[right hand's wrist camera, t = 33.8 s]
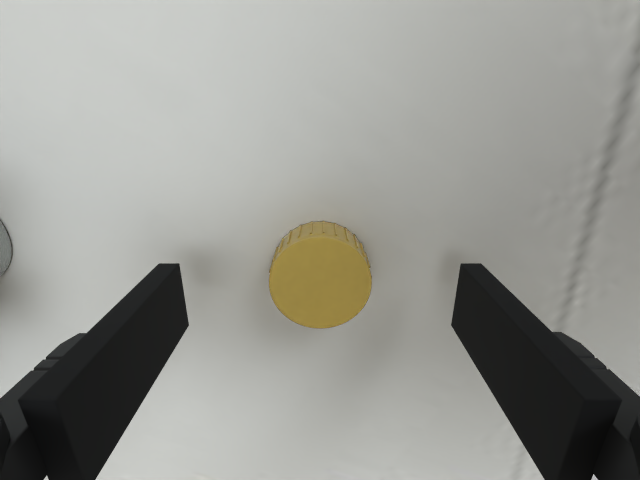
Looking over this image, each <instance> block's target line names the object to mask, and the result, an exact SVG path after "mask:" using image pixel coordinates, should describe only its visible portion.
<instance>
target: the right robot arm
mask: <svg viewBox="0 0 640 480" xmlns="http://www.w3.org/2000/svg"><path fill="white" fill-rule="evenodd" d="M188 326H189V323H188V317H187V310H186V304H185V298H184V291H183V285H182V278H181V272H180V266H179V264H158V265H157V266H156V267H155V268H154V269H153V270H152V271H151V272H150V273H149V274H148V275H147V276H146V277H145V278H144V279H143V280H141V281H140V282H139V283H138V284H137V285H136V286H135V287H134V288H133V289H132V290H131V291H130V292H129V293H128V294H127V295H126V296H125V297H124V298H123V299H122V300H121V301H120V302H119V303H118V304H117V305H116V306H114V307H113V308H112V309H111V310H110V311H109V312H108V313H107V314H106V315H105V316H104V317H103V318H102V319H101V320H100V321H99V322H98V323H97V324H96V325H95V326H94V327H93V328H92V329H91V330H90V331H89V332H87V333H79V334H77V335H75V336H74V337H72V338H70V339H68V340H67V341H65V342H63V343H62V344H60V345H59V346H58V347H57V348H56V349H54V350H53V351H52V352H51V353H50V354H49V355H48V356H47V357H46V360H42V361H41V362H40V363H39V364H38V365H37V366H36V367H35V368H34V371H30V372H29V373H28V374H27V375H26V376H25V377H24V378H22V379H21V380H20V381H19V382H18V383H17V384H16V385H15V386H14V387H13V388H11V389H10V390H9V391H8V392H7V393H6V394H5V395H4V396H3V397H2V398H0V480H44V478H45V477H46V476H48V479H49V480H95V479H96V478H97V476H98V474H99V473H100V471H101V469H102V468H103V466H104V464H105V463H106V461H107V459H108V458H109V456H110V454H111V453H112V451H113V450H114V448H115V446H116V445H117V443H118V441H119V440H120V438H121V436H122V435H123V433H124V431H125V430H126V428H127V426H128V425H129V423H130V421H131V420H132V418H133V416H134V415H135V413H136V412H137V410H138V408H139V407H140V405H141V403H142V402H143V400H144V398H145V397H146V395H147V393H148V392H149V390H150V388H151V387H152V385H153V383H154V382H155V380H156V379H157V377H158V375H159V374H160V372H161V370H162V369H163V367H164V365H165V364H166V362H167V360H168V359H169V357H170V355H171V354H172V352H173V350H174V349H175V347H176V346H177V344H178V342H179V341H180V339H181V337H182V336H183V334H184V332H185V331H186V329H187V327H188ZM451 326H452V327H453V329H454V331H455V332H456V334H457V336H458V337H459V339H460V341H461V342H462V344H463V346H464V347H465V349H466V350H467V352H468V354H469V355H470V357H471V359H472V360H473V362H474V364H475V365H476V367H477V369H478V370H479V372H480V374H481V375H482V377H483V379H484V380H485V382H486V383H487V385H488V387H489V388H490V390H491V392H492V393H493V395H494V397H495V398H496V400H497V402H498V403H499V405H500V407H501V408H502V410H503V412H504V413H505V415H506V416H507V418H508V420H509V421H510V423H511V425H512V426H513V428H514V430H515V431H516V433H517V435H518V436H519V438H520V440H521V441H522V443H523V445H524V446H525V448H526V449H527V451H528V453H529V454H530V456H531V458H532V459H533V461H534V463H535V464H536V466H537V468H538V469H539V471H540V473H541V474H542V476H543V478H544V479H545V480H591V479H592V476H593V474H594V475H595V476H596V478H597V479H598V480H640V397H639V396H638V395H637V394H636V393H635V392H634V391H633V390H632V389H631V388H629V387H628V386H627V385H626V384H625V383H624V382H623V381H622V380H621V379H619V378H618V377H617V376H616V375H615V374H614V373H613V372H612V371H611V370H610V369H607V368H606V366H605V365H604V364H603V363H602V362H601V361H600V360H598V359H597V358H595V357H594V355H593V354H592V353H591V352H590V351H588V350H587V349H586V348H585V347H584V346H583V345H582V344H581V343H579V342H577V341H576V340H574V339H572V338H570V337H569V336H567V335H565V334H563V333H562V332H551V331H550V330H549V329H548V328H547V327H546V326H545V325H544V324H543V323H542V322H541V321H540V320H539V319H538V318H537V317H536V316H535V315H534V314H533V313H532V312H531V311H530V310H529V309H528V308H527V307H526V306H524V305H523V304H522V303H521V302H520V301H519V300H518V299H517V298H516V297H515V296H514V295H513V294H512V293H511V292H510V291H509V290H508V289H507V288H506V287H505V286H504V285H503V284H502V283H501V282H500V281H499V280H497V279H496V278H495V277H494V276H493V275H492V274H491V273H490V272H489V271H488V270H487V269H486V268H485V267H484V266H483V265H482V264H461V266H460V272H459V278H458V285H457V291H456V298H455V304H454V311H453V317H452V323H451Z"/></svg>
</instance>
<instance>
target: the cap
mask: <svg viewBox="0 0 640 480" xmlns="http://www.w3.org/2000/svg"><path fill="white" fill-rule="evenodd" d="M369 268H370V265H369V261H368V258H367V255H366V252H364V249H363V246H362V243H360V242H359V241H358V239H357V238H356V236H355V234H354V235H353V234H352V233H351V232H350V231H348V230H347V228H343V227H342V226H339V225H337V224H336V223H334V224H333V223H329V222H324V221H323V222H311V223H307V224H304V225H300V226H299V227H297V228H295V229H294V230H292V231H290V232H289V233H288V234H287V235H286V236H285V238H282V240H281V243H280V245H279V247H277V248H276V251H275V254H274V257H273V261H272V264H271V267H270V271H269V273H270V276H269V289H270V293H271V296H272V299H273V301H274V303H275V305H276V306H277V308H278V309H279V310H280V311H281V312H282V314H284V315H285V316H286V317H287V318H289V319H290V320H292V321H293V322H295V323H297V324H300V325H303V326H306V327H310V328H330V327H335V326H338V325H341V324H343V323H345V322H347V321H349V320H350V319H352V318H353V317H355V316H356V315H357V314H358V313H359V312H360V311H361V310H362V308H363V307H364V306H365V304H366V302H367V300H368V298H369V295H370V291H371V284H372V281H371V279H372V276H371V273H370V269H369Z"/></svg>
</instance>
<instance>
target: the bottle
mask: <svg viewBox="0 0 640 480" xmlns="http://www.w3.org/2000/svg"><path fill="white" fill-rule="evenodd" d="M11 256H12V247H11V242H10V238H9V235H8V233H7V231H6V229H5V227H4V226H3V224H2V222H1V221H0V276H1V275H2V274H3V273H4V272H5V271H6V269H7V268H8V266H9V264H10V261H11Z"/></svg>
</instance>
